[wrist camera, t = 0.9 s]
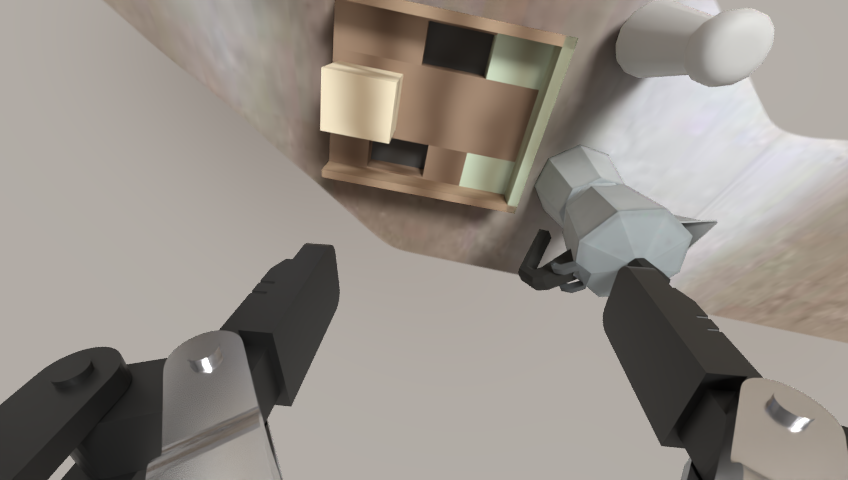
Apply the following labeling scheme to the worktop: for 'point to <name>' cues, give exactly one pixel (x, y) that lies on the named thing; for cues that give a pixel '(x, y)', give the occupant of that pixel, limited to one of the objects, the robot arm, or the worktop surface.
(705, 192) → the worktop surface
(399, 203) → the worktop surface
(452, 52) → the box
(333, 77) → the birch block
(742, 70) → the salt shaker
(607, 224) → the coffee maker
